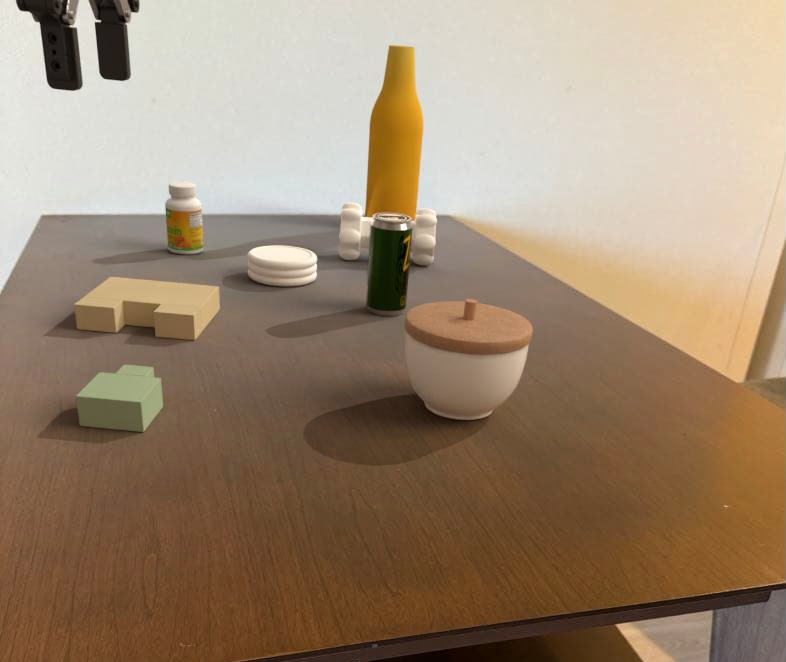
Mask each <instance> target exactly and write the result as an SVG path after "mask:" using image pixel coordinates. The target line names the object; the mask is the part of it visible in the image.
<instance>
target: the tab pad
mask: <svg viewBox="0 0 786 662" xmlns="http://www.w3.org/2000/svg"><path fill="white" fill-rule="evenodd" d="M163 399H164V398H163V387H162V378H161V377H155V369H154V366H145V365H136V364H135V365H134V364H123V365H122V366H121V367H120V368H119V369H118V370H117V371H116V372H114V373H113V372H103V371H99V372H98V373H97V374H96V375H95V376H94V377H93V378H92V379H91V380H90V381H89V382H88V383H87V384H86V385H85V386H84V387H83V388H82V389H81V390H80V391H79V392H78V393H77V394H76V395H75V401H76V408H77V415H78V422H79V426H80V427H85V428H87V427H88V428H97V429H105V430H116V431H117V430H118V431H129V432H140V433H145V431H146V430H147V428H148V427H149V426H150V425H151V423H152V422H153V421H154V419H155V418H156V417H157V416H158V414H159V413H160V412H161V410H163V408H164V400H163Z"/></svg>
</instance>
